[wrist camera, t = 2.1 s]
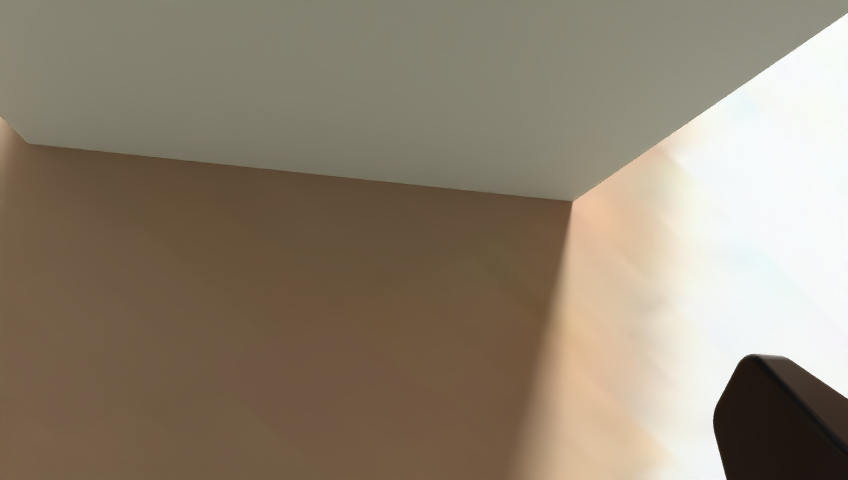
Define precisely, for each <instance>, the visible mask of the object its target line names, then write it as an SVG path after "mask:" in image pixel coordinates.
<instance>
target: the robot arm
mask: <svg viewBox="0 0 848 480" xmlns="http://www.w3.org/2000/svg"><path fill="white" fill-rule="evenodd" d="M713 427H714V433H715V437H716V441H717V445H718V448H719V452H720V456H721V460H722V464H723V468H724V471H725V475H726V479H727V480H848V399H847V398H845V397H844V396H843V395H841V394H840V393H838V392H837V391H835V390H834V389H832V388H831V387H829V386H828V385H826V384H825V383H824V382H822V381H821V380H819V379H818V378H816V377H815V376H813V375H812V374H810V373H809V372H808V371H806V370H805V369H803V368H802V367H800V366H799V365H797V364H796V363H794V362H793V361H791V360H790V359H788V358H785V357H782V356H775V355H762V354H750V355H747V356H745V357H744V358H743V359H741V360H740V362H739V363H738V365H737V367H736V369H735V371H734V373H733V374H732V376H731V378H730V380H729V382H728V384H727V386H726V388H725V390H724V392H723V393H722V395H721V397H720V399H719V401H718V403H717V405H716V407H715V411H714V416H713Z"/></svg>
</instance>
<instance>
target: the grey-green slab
mask: <svg viewBox="0 0 848 480" xmlns="http://www.w3.org/2000/svg"><path fill="white" fill-rule="evenodd" d="M847 13H848V0H0V116H1V117H2V118H3V119H4V120H5V121H6V122H7V123H8V124H9V125H10V126H11V127H12V128H13V129H14V130H15V131H16V132H17V133H18V134H19V135H20V136H21V137H22V138H23V139H24V140H25V141H26V142H27V143H28V144H36V145H46V146H55V147H64V148H74V149H83V150H93V151H102V152H111V153H121V154H130V155H139V156H149V157H158V158H168V159H177V160H186V161H196V162H205V163H215V164H224V165H233V166H243V167H252V168H262V169H271V170H280V171H290V172H299V173H309V174H318V175H327V176H337V177H346V178H356V179H365V180H374V181H384V182H393V183H402V184H412V185H421V186H431V187H440V188H449V189H459V190H468V191H478V192H487V193H496V194H506V195H515V196H525V197H534V198H543V199H553V200H562V201H572V202H573V201H574V200H576V199H577V198H579V197H580V196H582V195H583V194H585V193H586V192H587V191H589V190H590V189H592V188H593V187H595V186H596V185H598V184H599V183H601V182H602V181H604V180H605V179H606V178H608V177H609V176H611V175H612V174H614V173H615V172H617V171H618V170H620V169H621V168H622V167H624V166H625V165H627V164H628V163H630V162H631V161H633V160H634V159H636V158H637V157H638V156H640V155H641V154H643V153H644V152H646V151H647V150H649V149H650V148H652V147H653V146H654V145H656V144H657V143H659V142H660V141H662V140H663V139H665V138H666V137H668V136H669V135H671V134H672V133H673V132H675V131H676V130H678V129H679V128H681V127H682V126H684V125H685V124H687V123H688V122H689V121H691V120H692V119H694V118H695V117H697V116H698V115H700V114H701V113H703V112H704V111H705V110H707V109H708V108H710V107H711V106H713V105H714V104H716V103H717V102H719V101H720V100H721V99H723V98H724V97H726V96H727V95H729V94H730V93H732V92H733V91H735V90H736V89H737V88H739V87H740V86H742V85H743V84H745V83H746V82H748V81H749V80H751V79H752V78H754V77H755V76H756V75H758V74H759V73H761V72H762V71H764V70H765V69H767V68H768V67H770V66H771V65H772V64H774V63H775V62H777V61H778V60H780V59H781V58H783V57H784V56H786V55H787V54H788V53H790V52H791V51H793V50H794V49H796V48H797V47H799V46H800V45H802V44H803V43H804V42H806V41H807V40H809V39H810V38H812V37H813V36H815V35H816V34H818V33H819V32H821V31H822V30H823V29H825V28H826V27H828V26H829V25H831V24H832V23H834V22H835V21H837V20H838V19H839V18H841V17H842V16H844V15H845V14H847Z"/></svg>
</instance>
